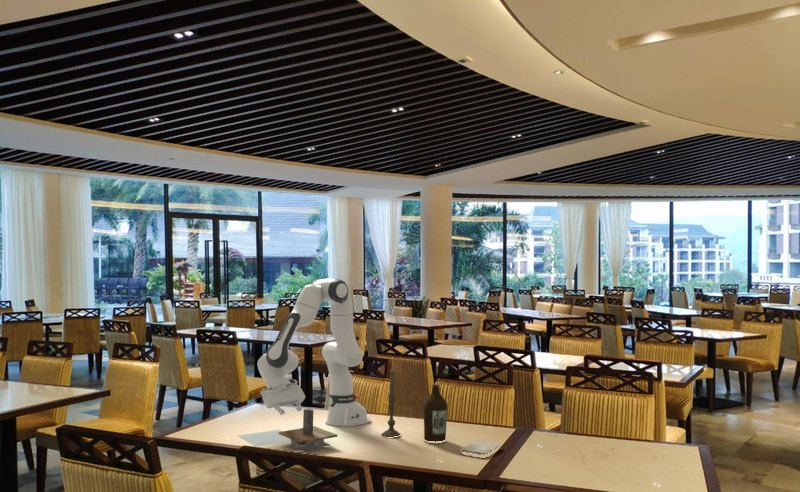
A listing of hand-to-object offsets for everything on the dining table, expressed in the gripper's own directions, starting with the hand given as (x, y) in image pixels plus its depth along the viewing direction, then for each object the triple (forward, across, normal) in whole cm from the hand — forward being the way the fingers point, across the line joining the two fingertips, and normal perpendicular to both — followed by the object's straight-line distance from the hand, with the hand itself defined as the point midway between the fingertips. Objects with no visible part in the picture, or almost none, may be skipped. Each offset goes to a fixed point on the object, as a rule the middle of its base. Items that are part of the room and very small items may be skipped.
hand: (291, 412), depth 287 cm
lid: (+14, 0, -3) cm, 14 cm away
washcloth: (+58, +46, -39) cm, 83 cm away
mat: (+2, -6, +15) cm, 16 cm away
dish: (+17, 0, +1) cm, 17 cm away
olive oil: (+40, +45, -23) cm, 64 cm away
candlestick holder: (+26, +38, -8) cm, 47 cm away
